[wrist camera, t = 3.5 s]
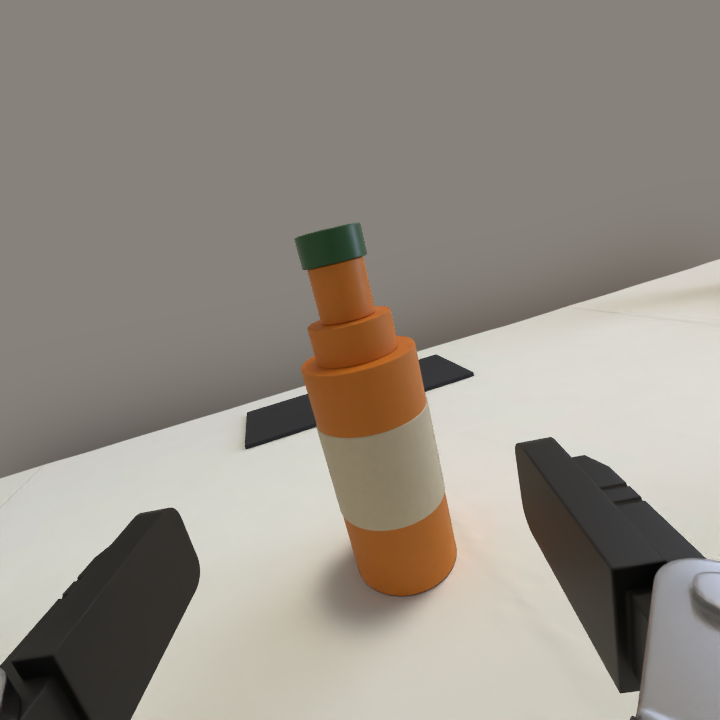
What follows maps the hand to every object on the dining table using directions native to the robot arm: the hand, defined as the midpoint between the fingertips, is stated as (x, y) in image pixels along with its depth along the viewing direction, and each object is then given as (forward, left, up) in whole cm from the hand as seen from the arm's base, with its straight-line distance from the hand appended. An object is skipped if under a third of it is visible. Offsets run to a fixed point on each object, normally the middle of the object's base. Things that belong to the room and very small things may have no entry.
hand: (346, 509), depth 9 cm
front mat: (+4, -37, -11) cm, 39 cm away
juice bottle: (0, -11, -11) cm, 16 cm away
